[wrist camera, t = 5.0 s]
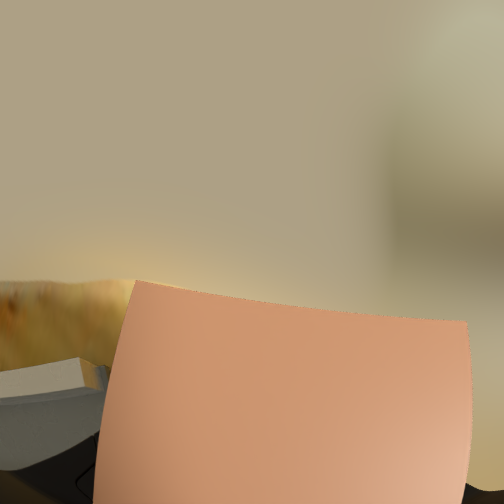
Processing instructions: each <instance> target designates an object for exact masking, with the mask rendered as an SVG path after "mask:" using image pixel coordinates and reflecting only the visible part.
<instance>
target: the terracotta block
mask: <svg viewBox="0 0 504 504" xmlns="http://www.w3.org/2000/svg"><path fill="white" fill-rule="evenodd" d="M472 415H473V386H472V366H471V355H470V345H469V335H468V328H467V322H466V321H451V320H433V319H417V318H403V317H391V316H379V315H368V314H357V313H348V312H338V311H329V310H321V309H312V308H304V307H296V306H288V305H281V304H273V303H266V302H259V301H253V300H246V299H239V298H233V297H227V296H220V295H214V294H208V293H202V292H197V291H191V290H185V289H180V288H174V287H169V286H164V285H158V284H153V283H148V282H143V281H138V280H136V281H135V285H134V288H133V291H132V294H131V297H130V301H129V304H128V307H127V311H126V314H125V318H124V321H123V325H122V329H121V333H120V336H119V340H118V344H117V348H116V352H115V356H114V361H113V365H112V369H111V374H110V378H109V383H108V388H107V393H106V398H105V404H104V409H103V415H102V421H101V428H100V434H99V442H98V450H97V458H96V468H95V479H94V494H93V504H461V503H462V498H463V494H464V489H465V483H466V477H467V471H468V464H469V456H470V447H471V435H472Z"/></svg>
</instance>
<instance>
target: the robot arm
mask: <svg viewBox="0 0 504 504" xmlns="http://www.w3.org/2000/svg"><path fill="white" fill-rule="evenodd" d="M99 434H100V430H99V431H97V432H96V433H94V436H93V435H91V436H89V437H88V438H86V439H85V440H83V441H81V442H80V443H78V444H76V445H75V446H73V447H71V448H69V449H67V450H65V451H63V452H61V453H59V454H57V455H54V456H52V457H50V458H47V459H45V460H43V461H40V462H38V463H35V464H33V465H30V466H27V467H25V468H21V469H17V470H0V504H93V494H94V479H95V468H96V458H97V450H98V442H99ZM461 504H504V490H500V491H483V490H479V489H477V488H474V487H473V486H471V485H469V484H467V483H465V489H464V494H463V498H462V503H461Z"/></svg>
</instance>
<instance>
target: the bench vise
mask: <svg viewBox="0 0 504 504" xmlns="http://www.w3.org/2000/svg"><path fill="white" fill-rule="evenodd" d="M109 378H110V370H109V367H107V366H105V365H103V366H97V365H95V364H92V363H90V362H88V361H86V360H84V359H82V358H80V357H77V358H72V359H67V360H63V361H58V362H53V363H48V364H42V365H37V366H32V367H26V368H20V369H14V370H8V371H2V372H0V470H17V469H21V468H25V467H27V466H30V465H33V464H35V463H38V462H40V461H43V460H45V459H47V458H50V457H52V456H54V455H57V454H59V453H61V452H63V451H65V450H67V449H69V448H71V447H73V446H75V445H76V444H78V443H80V442H81V441H83V440H85V439H86V438H88V437H89V436H91V435H93V436H94V433H96V432H97V431H99V430H100V428H101V421H102V415H103V409H104V404H105V398H106V393H107V388H108V383H109Z"/></svg>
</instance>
